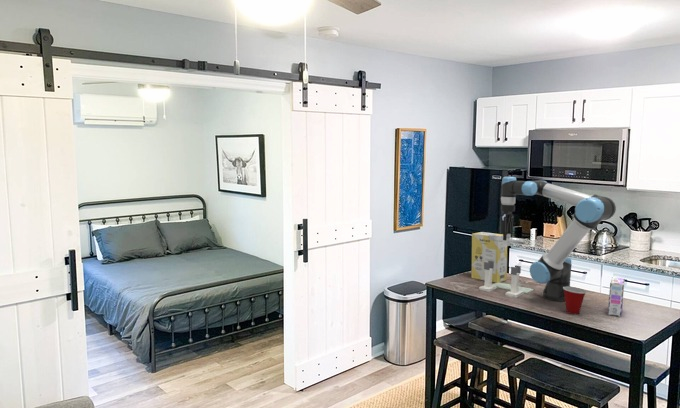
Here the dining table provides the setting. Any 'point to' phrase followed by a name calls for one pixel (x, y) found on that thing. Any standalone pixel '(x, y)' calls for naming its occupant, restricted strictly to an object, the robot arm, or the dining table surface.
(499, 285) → the mat
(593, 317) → the dining table surface
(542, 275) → the robot arm
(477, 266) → the pasta box
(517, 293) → the rack
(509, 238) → the rail
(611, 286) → the candy box
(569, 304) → the plastic cup
